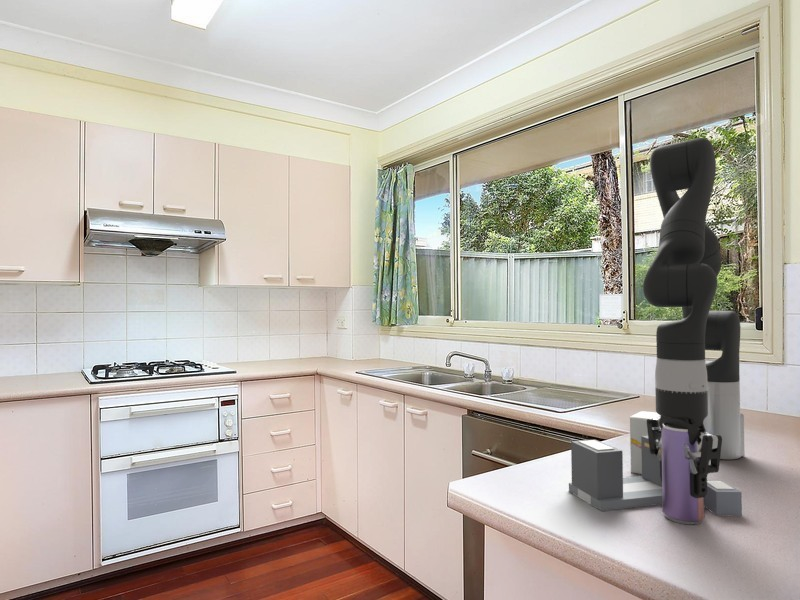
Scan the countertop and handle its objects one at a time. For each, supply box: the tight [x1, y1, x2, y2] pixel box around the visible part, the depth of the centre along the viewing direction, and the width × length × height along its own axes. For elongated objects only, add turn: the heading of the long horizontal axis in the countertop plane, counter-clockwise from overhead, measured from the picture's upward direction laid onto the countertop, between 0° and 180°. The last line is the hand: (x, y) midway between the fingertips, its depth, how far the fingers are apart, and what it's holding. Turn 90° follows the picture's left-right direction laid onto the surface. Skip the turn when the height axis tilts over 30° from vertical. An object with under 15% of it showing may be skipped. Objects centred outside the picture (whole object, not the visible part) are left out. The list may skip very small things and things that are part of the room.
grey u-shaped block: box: [568, 436, 662, 512], centre depth 96 cm, size 20×10×10 cm, turn 103°
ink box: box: [629, 410, 661, 475], centre depth 110 cm, size 9×8×12 cm
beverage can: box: [661, 423, 705, 526], centre depth 86 cm, size 6×6×15 cm
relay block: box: [704, 479, 743, 516], centre depth 90 cm, size 6×4×4 cm, turn 177°
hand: (682, 489), depth 86 cm, fingers closed on beverage can, 6 cm apart
